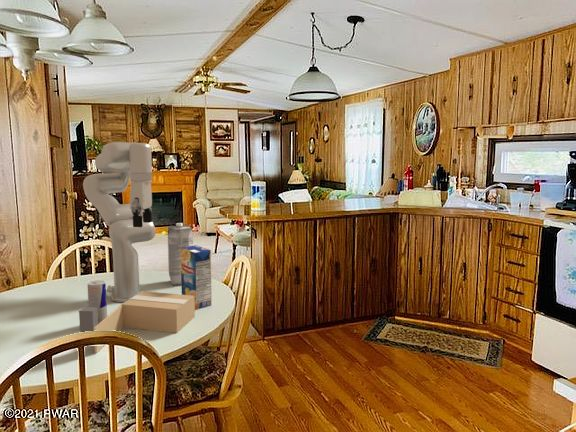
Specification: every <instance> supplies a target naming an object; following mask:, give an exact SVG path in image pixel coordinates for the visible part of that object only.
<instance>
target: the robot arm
mask: <svg viewBox="0 0 576 432" xmlns="http://www.w3.org/2000/svg"><path fill="white" fill-rule="evenodd" d="M94 159H95V160H94V165H95V166H94V167H96V169H97V170H98V171H100V172H101V173H94V174H90V175H87V176H86V177H85V178H84V179H83V182H82V187H83V191H84V194H85V197H86V199H87V200H88V201H89V203H90V204H91V205H92V206H93V207H95V208H96V210H97V211H98V213H99V214H100V216H101V218H102V219H103V221H104V222H105V224H106V225H107V226H108V227H109V229H108V235H109V238H110V243H111V249H112V261H113V263H112V268H113V285H110V284H109V285H107V287H106V292H108V293H109V292H110V293H111V294H110V300H111V301H113V302H116V303H124V302H126V301H128V300H130V298H132V297H134V296H135V295H138V294H140V293H141V292H143V291H142V290H141V289H140V267H139V265H140V264H139V254H138V251H137V250H136V249H135V247H134V246H133V245H132V244H137V243H143V242H149V241H152V240H153V239H154V238H155V236H156V227H155V224H154V222H153V213H152V212H153V209H152V207H153V193H152V182H153V165H152V164H153V163H152V146H151V145H150V144H149V143H145V142H130V141H129V142H127V141H126V142H124V141H120V142H119V141H117V142H116V141H115V142H114V141H113V142H109V143H106V144H104V145H103V146H102V148H101V152H100V153H99V154H98V155H97V156H96V158H94ZM129 183H130V189H129V203H125V204H122V203H121V204H120V203H119V201H118V200H117V198H115V197H114V196H112V195H110V194H113V193H116V194H117V193H123V192H125V191H126V190H127V189H128V186H129Z"/></svg>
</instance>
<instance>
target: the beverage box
mask: <svg viewBox="0 0 576 432" xmlns="http://www.w3.org/2000/svg"><path fill="white" fill-rule="evenodd" d="M180 286H181V295H191V296H194V306H195V310H199V309H203V308H207V307H211V306H212V301H213V300H212V250H211V249H209V248H206V247H202V246H200V245H197V244H196V245H193V246H188V247H182V248H181V284H180Z"/></svg>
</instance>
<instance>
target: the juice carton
mask: <svg viewBox="0 0 576 432" xmlns="http://www.w3.org/2000/svg"><path fill="white" fill-rule="evenodd" d="M193 239H194V238H193V229H192V227H191V226H190V225H189V224H186V225H183V222H177V223H175V225H169V226H168V228H167V259H168V263H167V264H168V265H167V266H168V275H169V279H170V282H171V285H172V286H177V285H181V248H182V247H188V246H194V240H193Z"/></svg>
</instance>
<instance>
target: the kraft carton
mask: <svg viewBox="0 0 576 432" xmlns="http://www.w3.org/2000/svg"><path fill="white" fill-rule="evenodd" d="M121 305H122V311H123V328H128V329H129V328H130V329H138V330H147V331H158V332H165V333H173V334H175V333H176V334H177V333H178V332H180V331H181V330H182V329H183V328H184V327H185V326H186V325H188V324H189V323H190V322H191V321H192V320H193V319H195V317H196V315H195V314H196V313H195V311H196V309H195V306H194V296H191V295H182V294H179V293H178V294H177V293H168V292H165V293H164V292H156V291H142V292H141V293H140V294H138V295H135V296H134V297H132V298H130V300H128V301H126V302H122V303H121Z"/></svg>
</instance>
